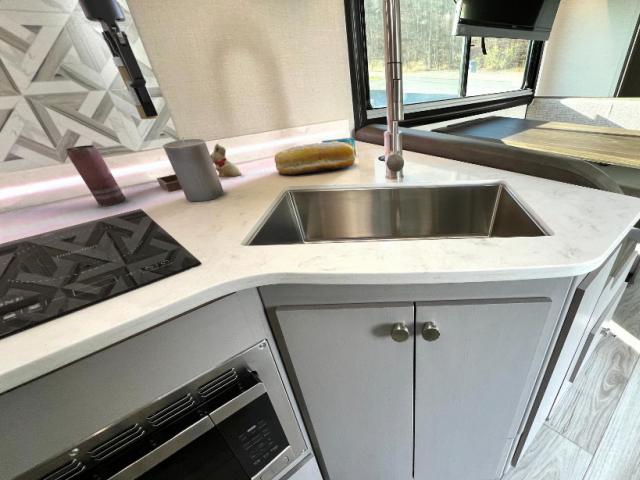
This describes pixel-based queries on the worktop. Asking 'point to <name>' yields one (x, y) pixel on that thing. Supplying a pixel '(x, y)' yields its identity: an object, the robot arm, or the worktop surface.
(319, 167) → the bread
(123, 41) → the robot arm
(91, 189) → the can
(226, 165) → the dog figurine
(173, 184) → the tray
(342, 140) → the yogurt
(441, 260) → the worktop surface
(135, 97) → the sprinkles bottle
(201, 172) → the pillar candle
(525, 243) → the worktop surface
